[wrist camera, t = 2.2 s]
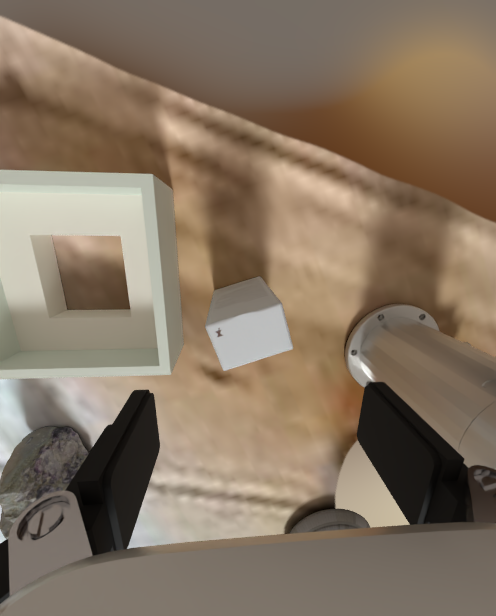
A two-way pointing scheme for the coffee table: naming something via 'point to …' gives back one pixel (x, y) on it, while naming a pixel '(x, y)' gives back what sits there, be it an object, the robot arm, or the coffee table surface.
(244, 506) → the coffee table surface
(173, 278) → the peg box
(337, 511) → the flying saucer
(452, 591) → the robot arm
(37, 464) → the mineral rock
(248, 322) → the skincare box
